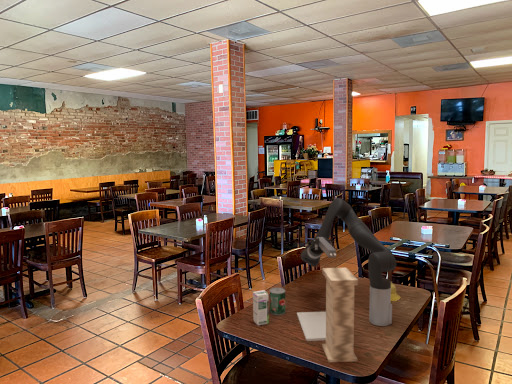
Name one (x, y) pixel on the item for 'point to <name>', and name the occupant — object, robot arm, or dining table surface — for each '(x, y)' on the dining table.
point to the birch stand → (339, 314)
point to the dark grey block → (326, 247)
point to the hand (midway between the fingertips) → (322, 239)
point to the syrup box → (261, 307)
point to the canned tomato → (277, 301)
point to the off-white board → (313, 325)
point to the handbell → (393, 288)
